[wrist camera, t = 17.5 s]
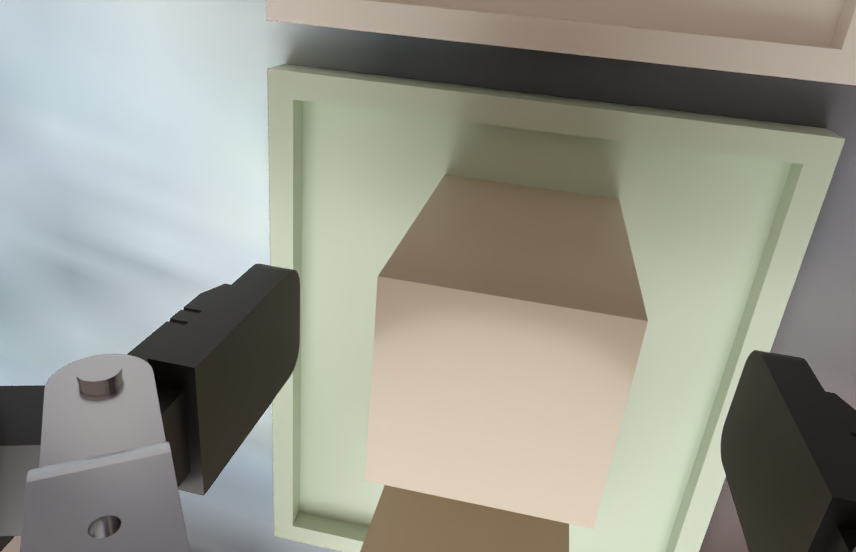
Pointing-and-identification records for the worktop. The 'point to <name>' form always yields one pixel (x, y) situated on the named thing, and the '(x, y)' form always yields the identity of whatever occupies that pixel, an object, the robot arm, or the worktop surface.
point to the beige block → (505, 349)
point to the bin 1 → (621, 29)
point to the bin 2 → (550, 169)
